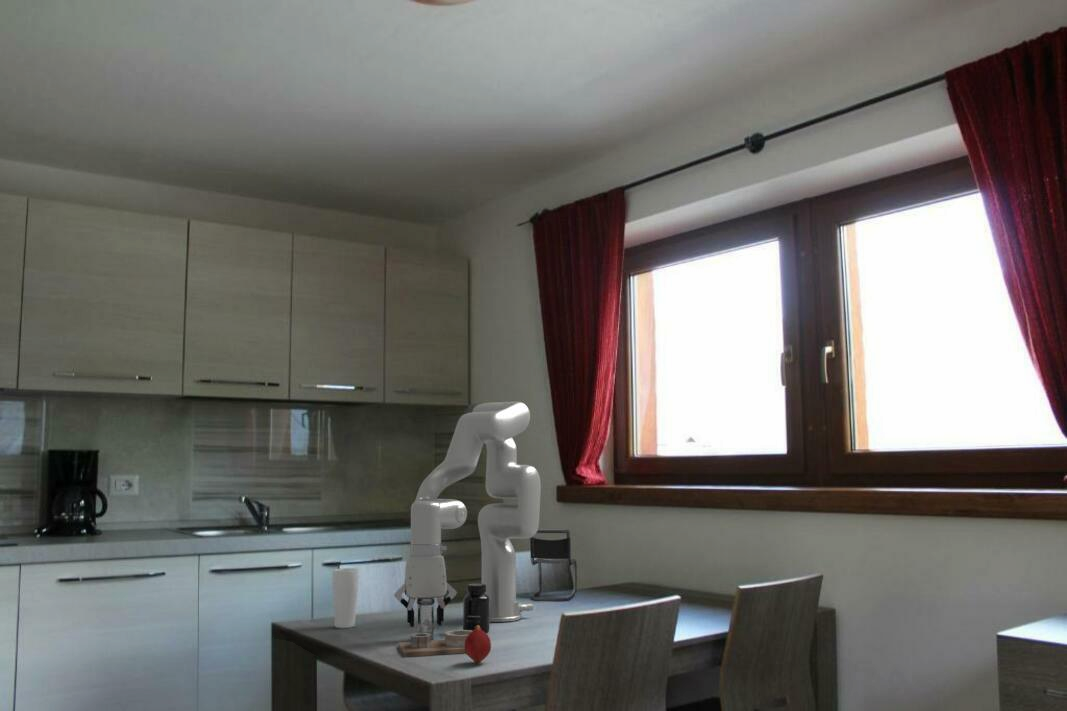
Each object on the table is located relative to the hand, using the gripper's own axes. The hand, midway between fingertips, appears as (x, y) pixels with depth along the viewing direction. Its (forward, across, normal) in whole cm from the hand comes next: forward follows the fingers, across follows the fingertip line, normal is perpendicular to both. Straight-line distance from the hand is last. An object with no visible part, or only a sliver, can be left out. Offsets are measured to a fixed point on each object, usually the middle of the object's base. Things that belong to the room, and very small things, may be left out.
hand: (425, 624), depth 229 cm
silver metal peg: (+4, 0, 0) cm, 4 cm away
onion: (+4, -7, +30) cm, 31 cm away
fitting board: (+4, -2, +13) cm, 14 cm away
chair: (+4, -50, -59) cm, 77 cm away
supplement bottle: (+4, -14, -6) cm, 16 cm away
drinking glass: (+4, +18, -24) cm, 30 cm away
